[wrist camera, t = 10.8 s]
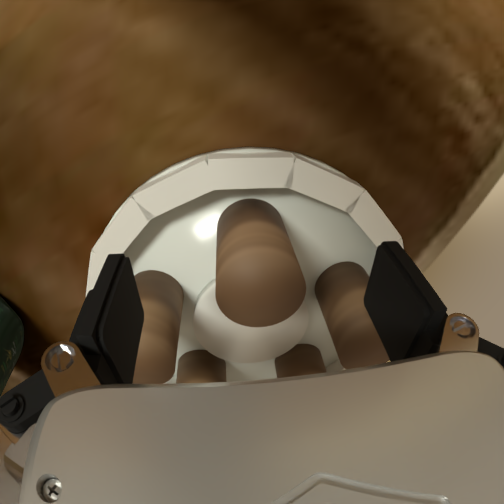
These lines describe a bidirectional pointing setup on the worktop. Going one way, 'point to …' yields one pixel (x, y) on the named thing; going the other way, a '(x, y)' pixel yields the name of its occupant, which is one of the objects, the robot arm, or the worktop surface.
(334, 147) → the worktop surface
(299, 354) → the brown round peg
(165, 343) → the brown cylinder
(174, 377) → the groove tray
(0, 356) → the coffee jar
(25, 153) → the worktop surface
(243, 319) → the tan rounded cylinder
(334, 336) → the brown round peg
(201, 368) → the seated bead
